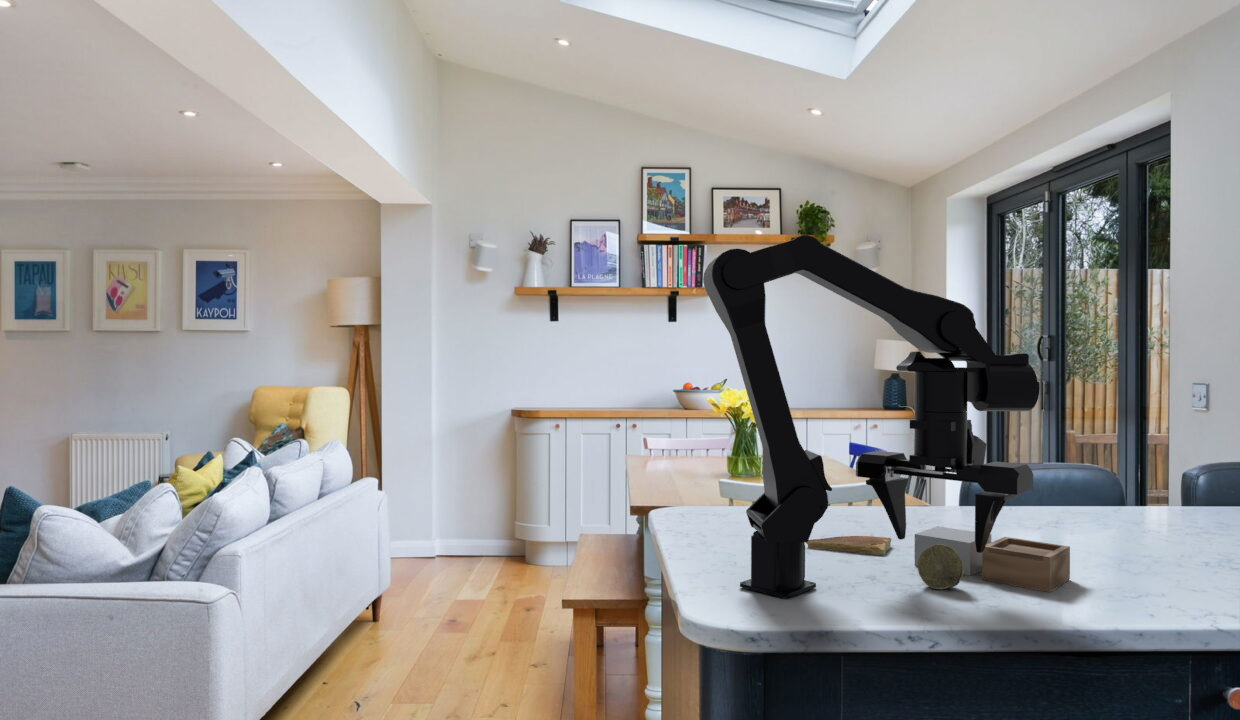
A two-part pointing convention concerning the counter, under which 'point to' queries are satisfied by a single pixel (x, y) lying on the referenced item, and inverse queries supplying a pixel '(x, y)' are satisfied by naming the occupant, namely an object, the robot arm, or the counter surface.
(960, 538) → the grey stone block
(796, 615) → the counter surface
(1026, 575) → the brown hollow rimmed box
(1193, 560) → the counter surface
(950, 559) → the lime
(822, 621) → the counter surface
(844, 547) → the shard
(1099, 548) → the counter surface
